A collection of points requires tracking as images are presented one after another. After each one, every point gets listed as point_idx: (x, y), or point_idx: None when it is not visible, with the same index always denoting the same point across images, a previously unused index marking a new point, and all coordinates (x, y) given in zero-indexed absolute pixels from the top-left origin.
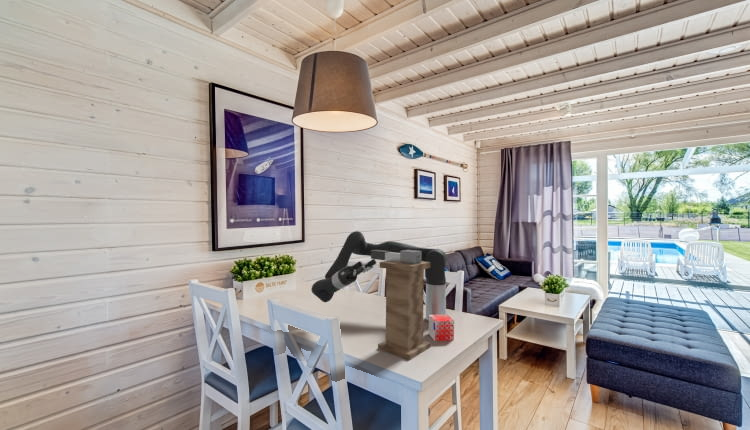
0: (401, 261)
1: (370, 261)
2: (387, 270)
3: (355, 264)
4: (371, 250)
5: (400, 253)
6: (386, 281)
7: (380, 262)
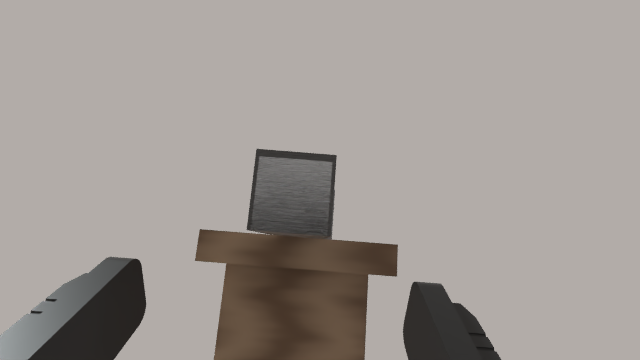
0: (331, 234)
1: (89, 314)
2: (366, 285)
3: (497, 357)
4: (335, 157)
5: (333, 201)
6: (364, 349)
7: (395, 246)
